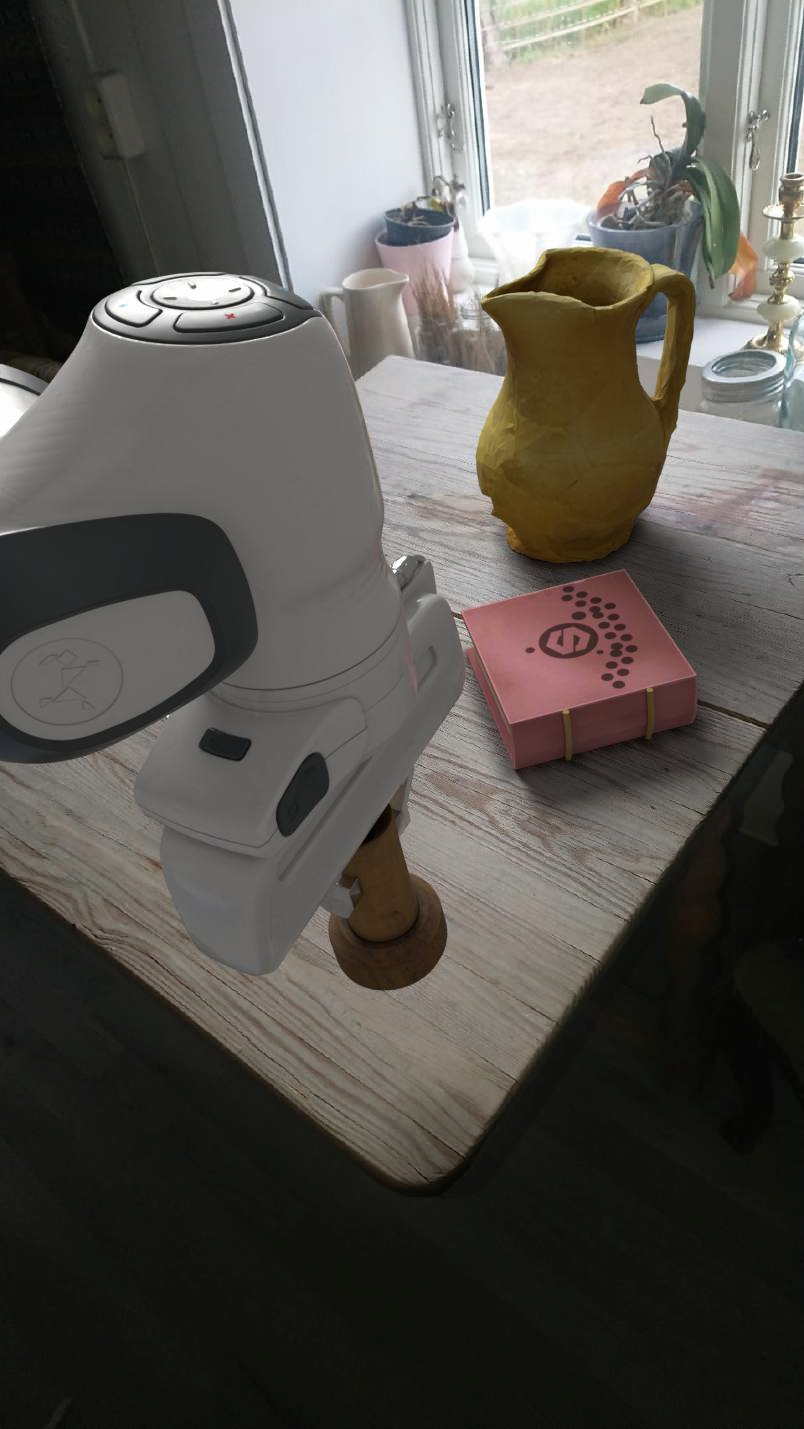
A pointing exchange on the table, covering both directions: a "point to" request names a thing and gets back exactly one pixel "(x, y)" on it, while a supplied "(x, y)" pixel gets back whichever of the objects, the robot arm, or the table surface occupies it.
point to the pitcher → (581, 401)
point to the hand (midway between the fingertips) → (367, 866)
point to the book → (578, 668)
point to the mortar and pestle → (388, 916)
